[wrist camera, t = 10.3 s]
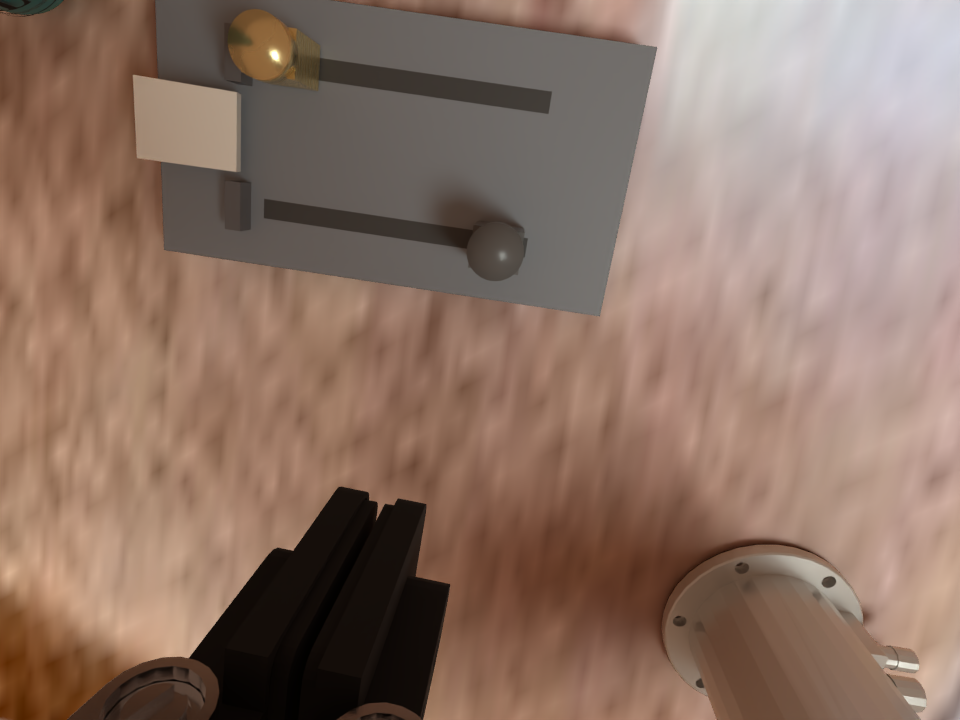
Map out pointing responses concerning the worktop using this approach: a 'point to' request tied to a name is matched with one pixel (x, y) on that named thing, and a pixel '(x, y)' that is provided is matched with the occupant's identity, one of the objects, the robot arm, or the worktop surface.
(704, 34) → the worktop surface
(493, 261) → the dark gray slider
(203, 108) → the block
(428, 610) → the robot arm
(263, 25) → the brass slider
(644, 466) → the worktop surface
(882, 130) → the worktop surface
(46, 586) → the worktop surface
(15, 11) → the beverage bottle
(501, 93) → the panel
